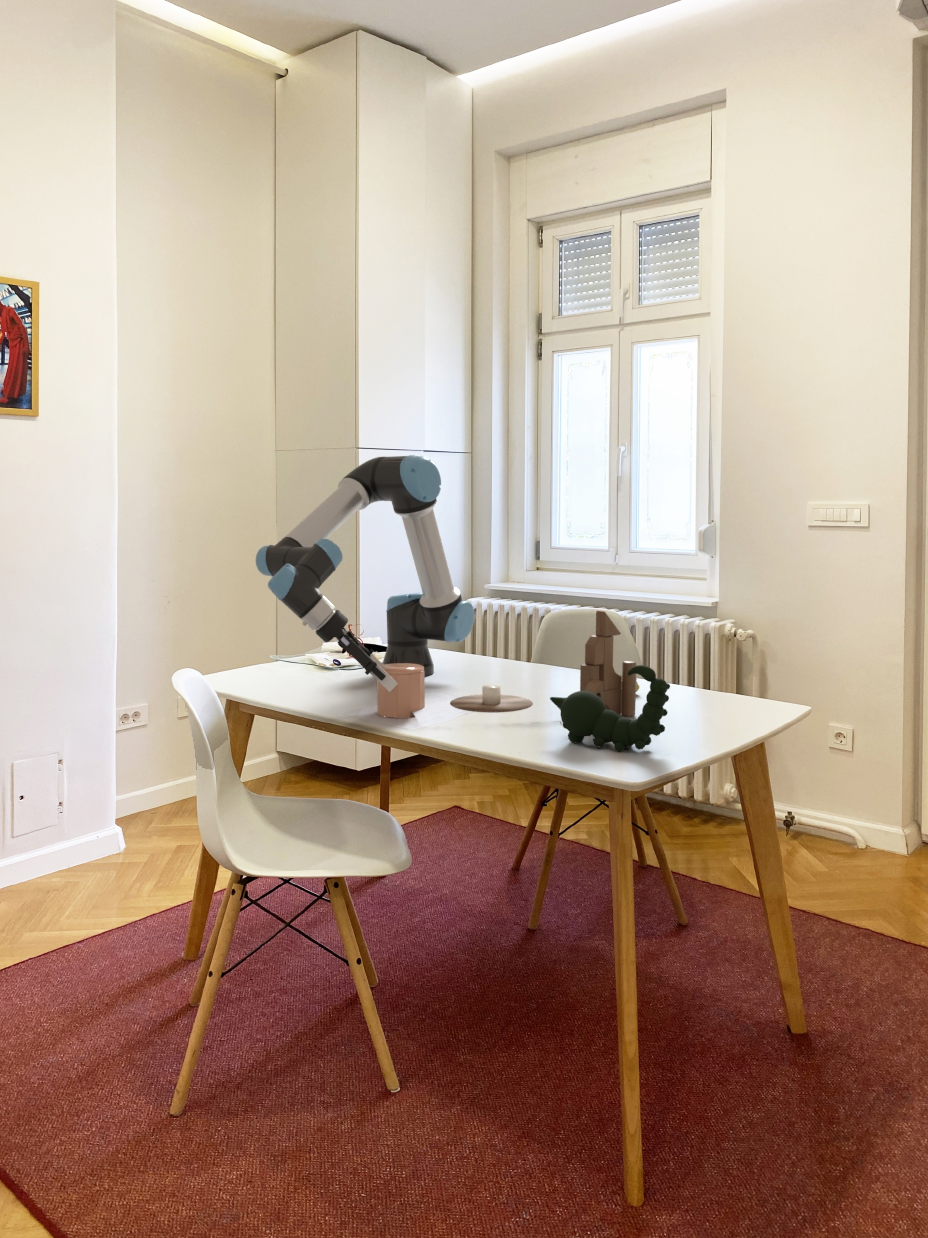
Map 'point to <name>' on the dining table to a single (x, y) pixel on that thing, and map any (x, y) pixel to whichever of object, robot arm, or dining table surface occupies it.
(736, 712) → the dining table surface
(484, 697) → the ivory rounded cylinder
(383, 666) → the tan domed cylinder
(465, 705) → the walnut board
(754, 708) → the dining table surface
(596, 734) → the toy figurine
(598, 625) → the wooden toy
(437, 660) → the dining table surface
